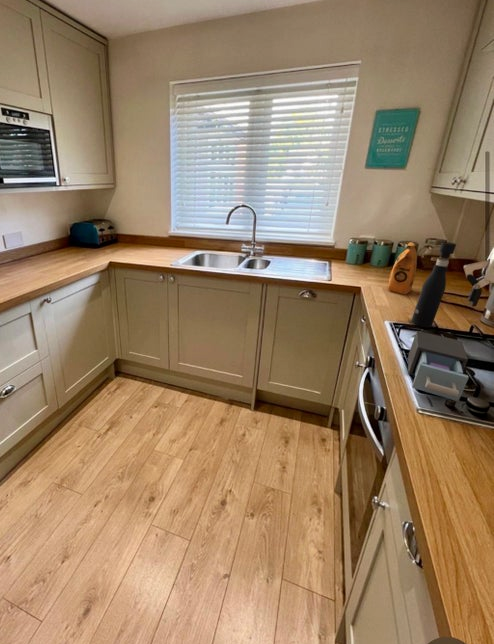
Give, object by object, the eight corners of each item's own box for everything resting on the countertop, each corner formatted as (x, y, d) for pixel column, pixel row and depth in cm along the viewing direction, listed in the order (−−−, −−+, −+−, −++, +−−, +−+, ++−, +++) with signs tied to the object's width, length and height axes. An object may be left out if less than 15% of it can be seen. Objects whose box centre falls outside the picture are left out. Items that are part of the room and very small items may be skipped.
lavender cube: (445, 387, 82) (450, 374, 80) (425, 382, 84) (431, 369, 82) (443, 380, 85) (449, 366, 84) (425, 374, 87) (430, 361, 86)
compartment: (456, 387, 86) (468, 359, 82) (408, 374, 91) (417, 347, 87) (451, 367, 95) (461, 341, 91) (407, 356, 100) (416, 330, 96)
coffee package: (383, 290, 155) (396, 244, 147) (388, 284, 164) (401, 240, 155) (408, 295, 149) (423, 247, 141) (412, 289, 158) (426, 243, 150)
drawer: (461, 413, 75) (472, 388, 73) (412, 398, 80) (421, 374, 77) (453, 380, 87) (462, 358, 85) (411, 368, 92) (419, 347, 89)
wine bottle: (434, 325, 121) (464, 244, 109) (427, 329, 118) (456, 246, 106) (415, 318, 126) (442, 240, 114) (407, 322, 122) (434, 242, 111)
